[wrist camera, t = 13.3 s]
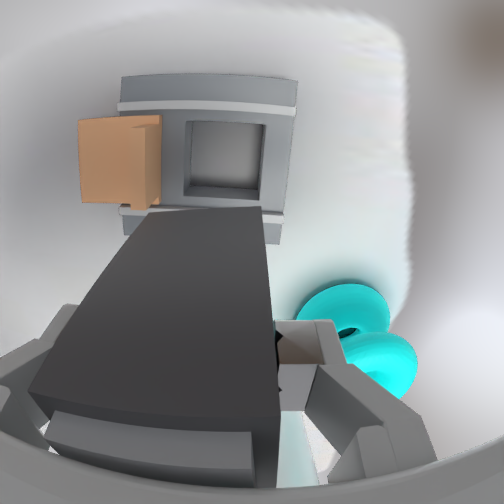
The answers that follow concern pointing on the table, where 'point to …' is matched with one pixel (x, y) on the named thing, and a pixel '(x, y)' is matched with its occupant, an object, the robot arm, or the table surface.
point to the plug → (172, 357)
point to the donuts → (366, 334)
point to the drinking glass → (295, 453)
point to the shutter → (121, 160)
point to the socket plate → (223, 110)
